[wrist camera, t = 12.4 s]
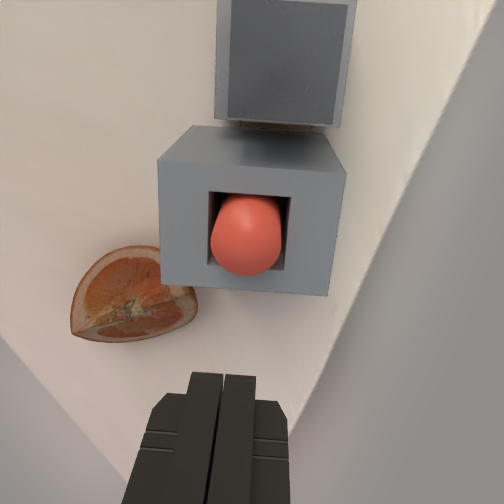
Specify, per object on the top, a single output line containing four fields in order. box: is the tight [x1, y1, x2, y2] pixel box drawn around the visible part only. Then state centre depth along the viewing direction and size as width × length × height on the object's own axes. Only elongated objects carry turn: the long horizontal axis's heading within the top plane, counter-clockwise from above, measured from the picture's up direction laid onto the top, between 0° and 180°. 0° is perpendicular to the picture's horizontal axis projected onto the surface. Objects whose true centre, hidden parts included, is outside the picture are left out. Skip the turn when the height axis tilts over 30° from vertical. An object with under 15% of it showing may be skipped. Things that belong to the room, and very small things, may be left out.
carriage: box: [214, 0, 357, 127], centre depth 20 cm, size 6×6×10 cm
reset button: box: [211, 192, 281, 276], centre depth 22 cm, size 3×3×7 cm
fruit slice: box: [70, 246, 198, 343], centre depth 30 cm, size 8×7×5 cm
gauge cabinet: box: [157, 125, 346, 296], centre depth 24 cm, size 8×6×9 cm
